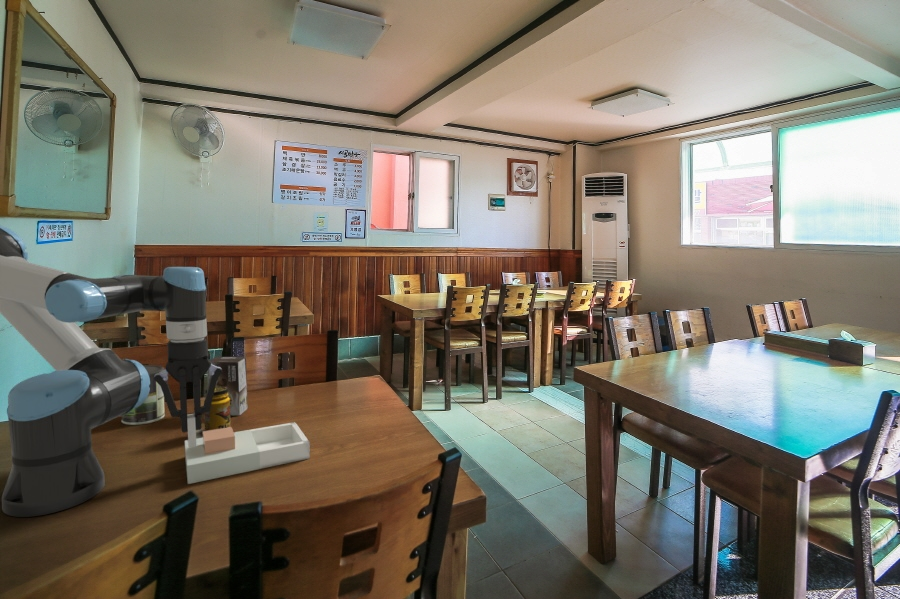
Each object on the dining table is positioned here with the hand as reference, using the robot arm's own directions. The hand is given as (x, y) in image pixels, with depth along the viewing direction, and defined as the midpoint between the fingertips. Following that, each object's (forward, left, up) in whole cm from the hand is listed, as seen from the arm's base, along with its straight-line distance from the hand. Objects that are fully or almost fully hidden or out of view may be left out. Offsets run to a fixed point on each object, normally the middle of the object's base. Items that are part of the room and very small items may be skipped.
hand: (192, 444), depth 101 cm
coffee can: (-10, +39, -6) cm, 41 cm away
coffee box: (+11, +34, -6) cm, 36 cm away
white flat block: (+6, 0, -6) cm, 8 cm away
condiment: (+6, +19, -6) cm, 21 cm away
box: (+18, 0, -6) cm, 19 cm away
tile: (+5, 0, -2) cm, 5 cm away
